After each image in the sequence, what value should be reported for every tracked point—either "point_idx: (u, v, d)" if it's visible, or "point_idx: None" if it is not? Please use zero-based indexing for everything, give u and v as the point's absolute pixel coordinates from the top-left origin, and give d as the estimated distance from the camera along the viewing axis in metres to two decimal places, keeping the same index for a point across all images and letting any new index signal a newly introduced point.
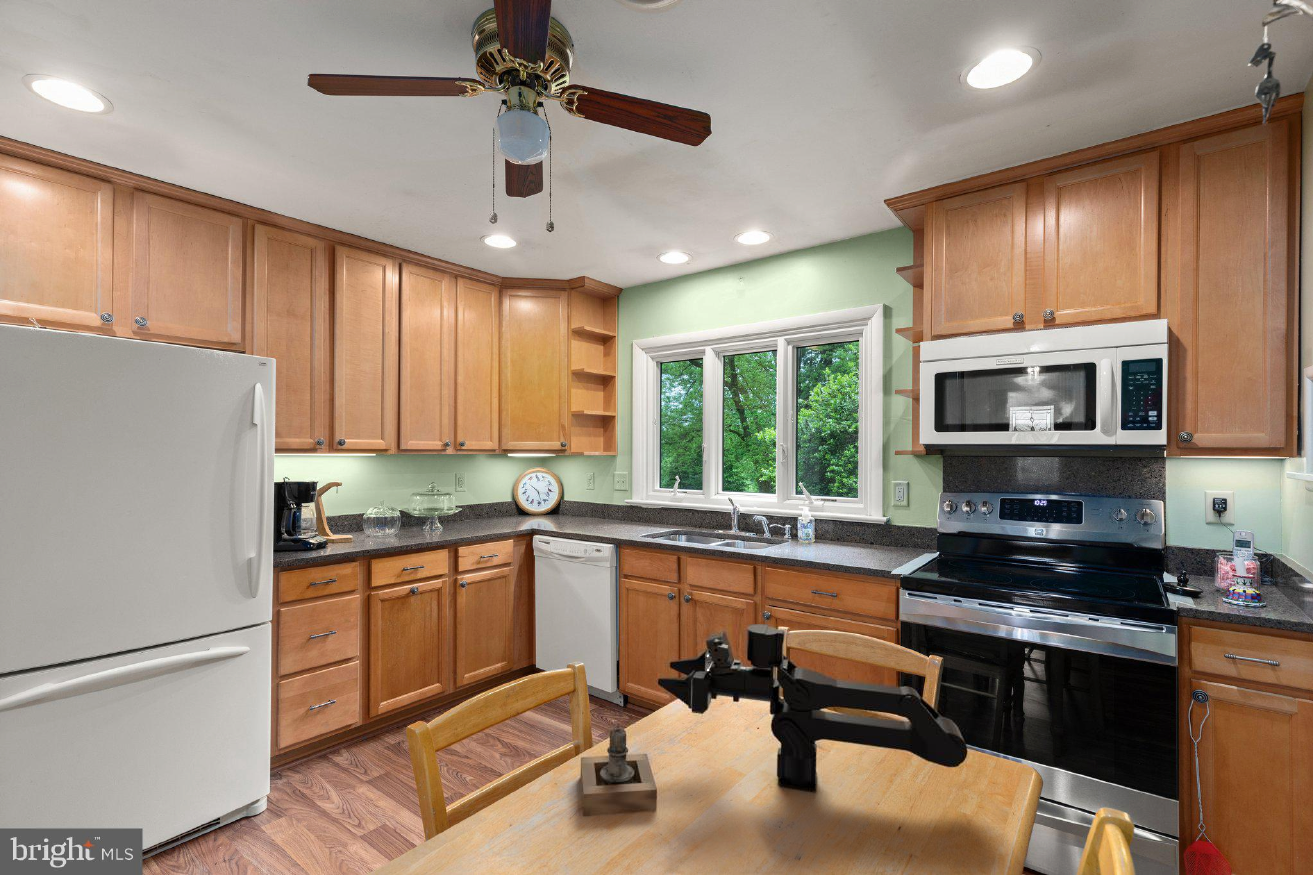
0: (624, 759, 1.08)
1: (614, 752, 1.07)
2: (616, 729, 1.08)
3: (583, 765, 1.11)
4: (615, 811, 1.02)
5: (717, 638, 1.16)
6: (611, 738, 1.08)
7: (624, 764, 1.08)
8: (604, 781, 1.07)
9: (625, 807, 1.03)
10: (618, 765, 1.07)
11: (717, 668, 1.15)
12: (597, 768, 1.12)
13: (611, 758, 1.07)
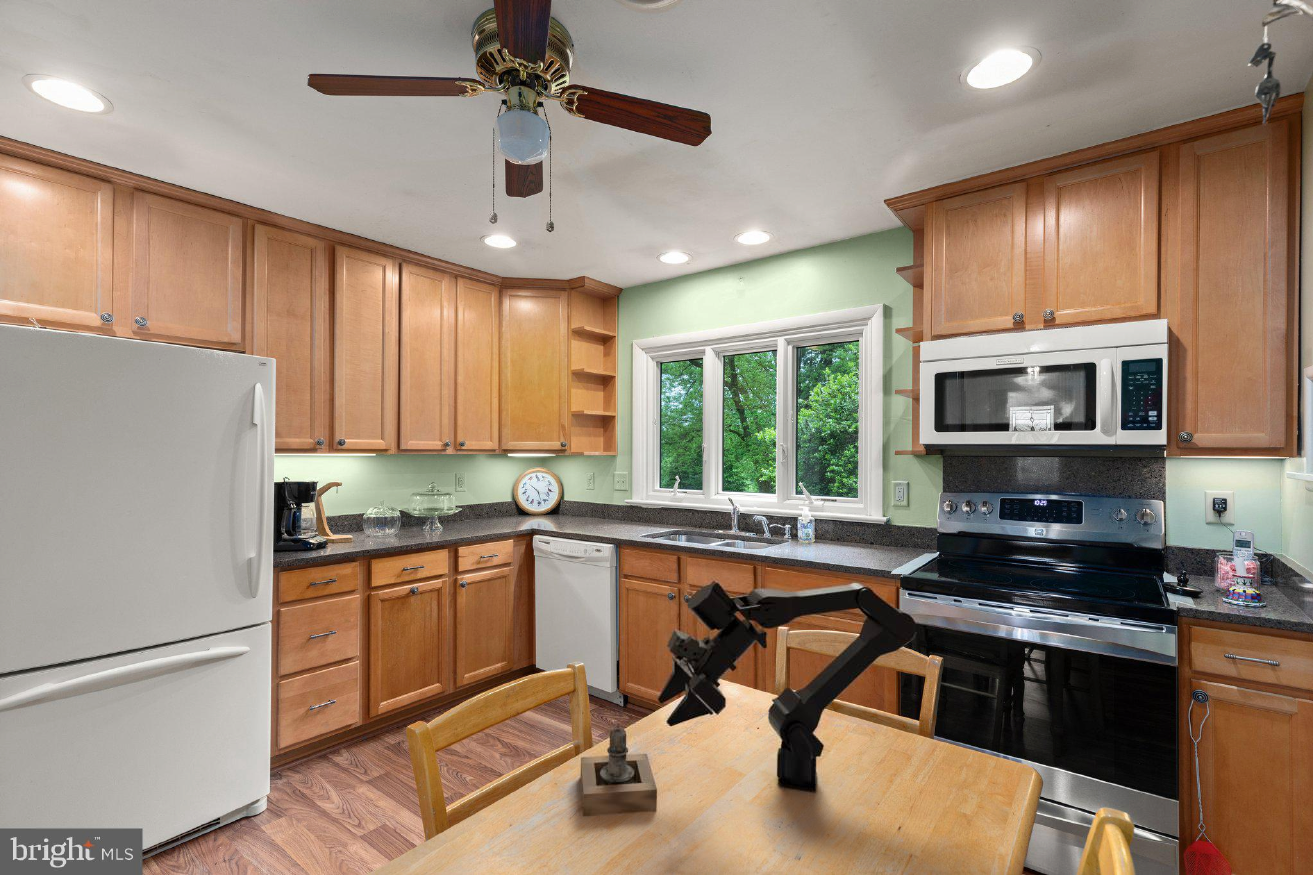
0: (624, 759, 1.08)
1: (614, 752, 1.07)
2: (616, 729, 1.08)
3: (583, 765, 1.11)
4: (615, 811, 1.02)
5: (676, 640, 1.08)
6: (611, 738, 1.08)
7: (624, 764, 1.08)
8: (604, 781, 1.07)
9: (625, 807, 1.03)
10: (618, 765, 1.07)
11: (699, 661, 1.08)
12: (597, 768, 1.12)
13: (611, 758, 1.07)
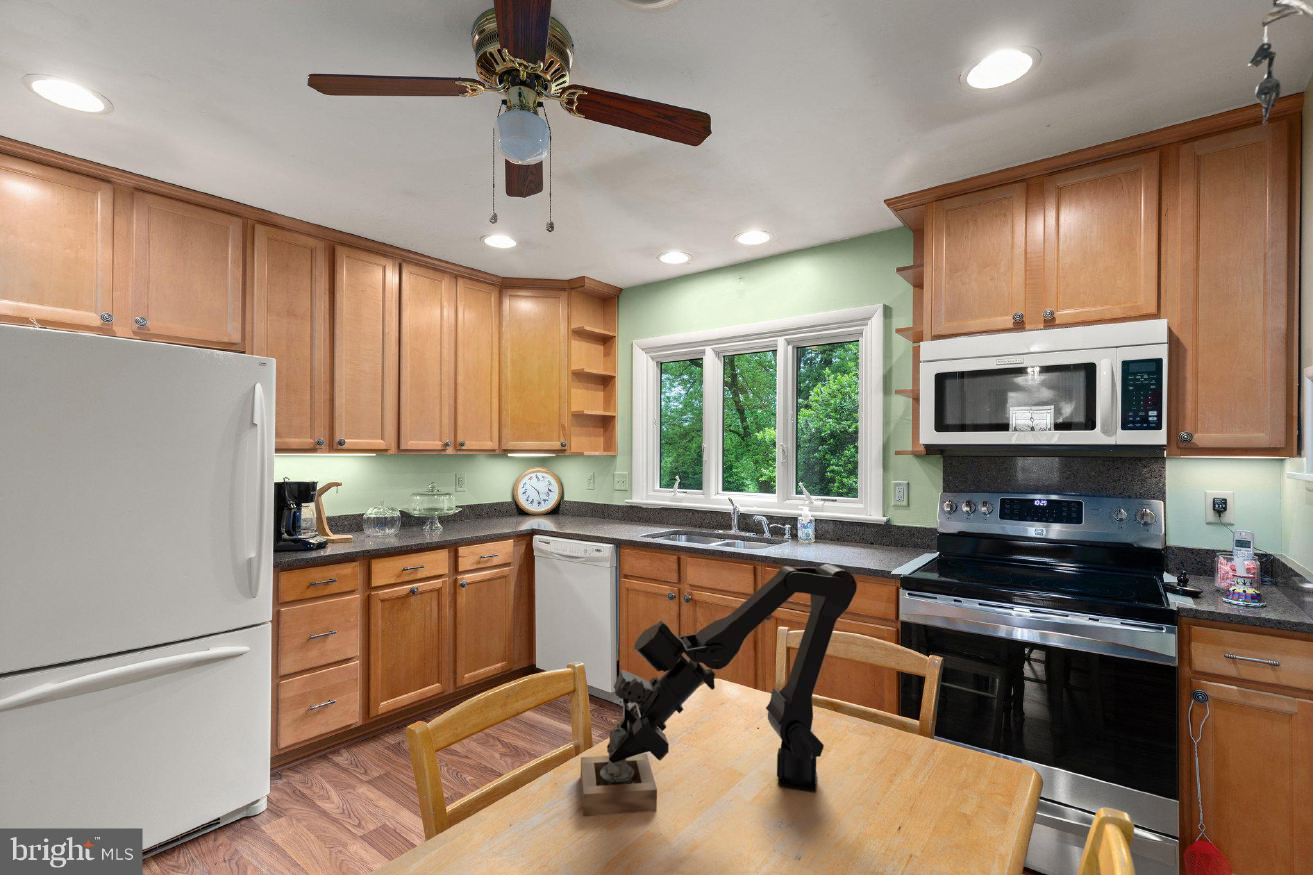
0: (624, 759, 1.08)
1: None
2: (616, 729, 1.08)
3: (583, 765, 1.11)
4: (615, 811, 1.02)
5: (621, 682, 1.07)
6: (611, 738, 1.08)
7: (624, 764, 1.08)
8: (604, 781, 1.07)
9: (625, 807, 1.03)
10: (618, 765, 1.07)
11: (644, 704, 1.06)
12: (597, 768, 1.12)
13: None
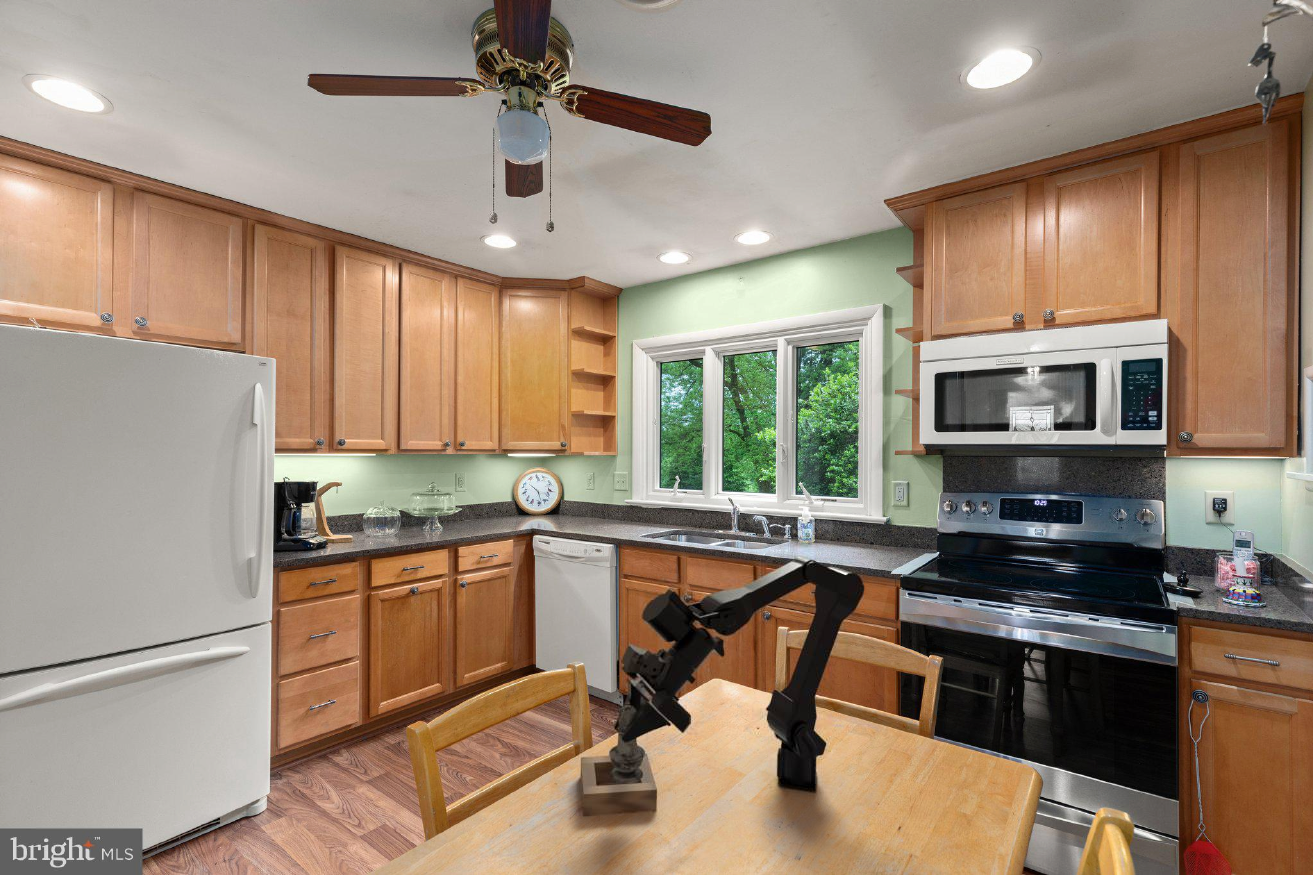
0: (635, 738, 1.01)
1: None
2: (626, 707, 1.02)
3: (583, 765, 1.11)
4: (615, 811, 1.02)
5: (633, 656, 1.00)
6: (622, 717, 1.01)
7: (635, 743, 1.01)
8: (615, 763, 1.00)
9: (625, 807, 1.03)
10: (630, 744, 1.01)
11: (658, 677, 1.01)
12: (597, 768, 1.12)
13: None
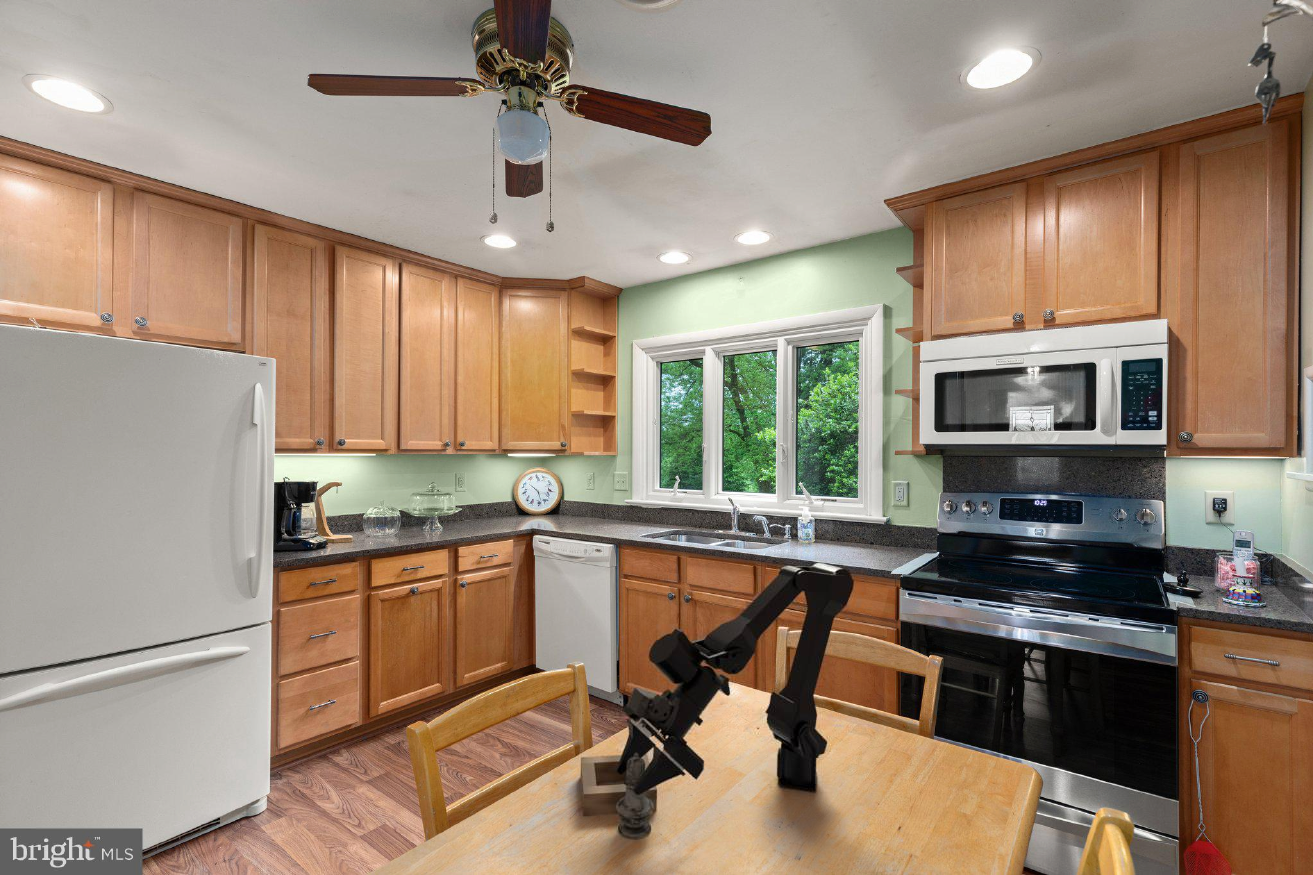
0: None
1: (635, 785, 0.97)
2: (634, 759, 0.98)
3: (583, 765, 1.11)
4: (615, 811, 1.02)
5: (642, 700, 0.97)
6: (631, 770, 0.97)
7: (644, 796, 0.98)
8: (625, 819, 0.96)
9: None
10: (640, 797, 0.97)
11: (667, 721, 0.98)
12: (597, 768, 1.12)
13: (631, 791, 0.97)
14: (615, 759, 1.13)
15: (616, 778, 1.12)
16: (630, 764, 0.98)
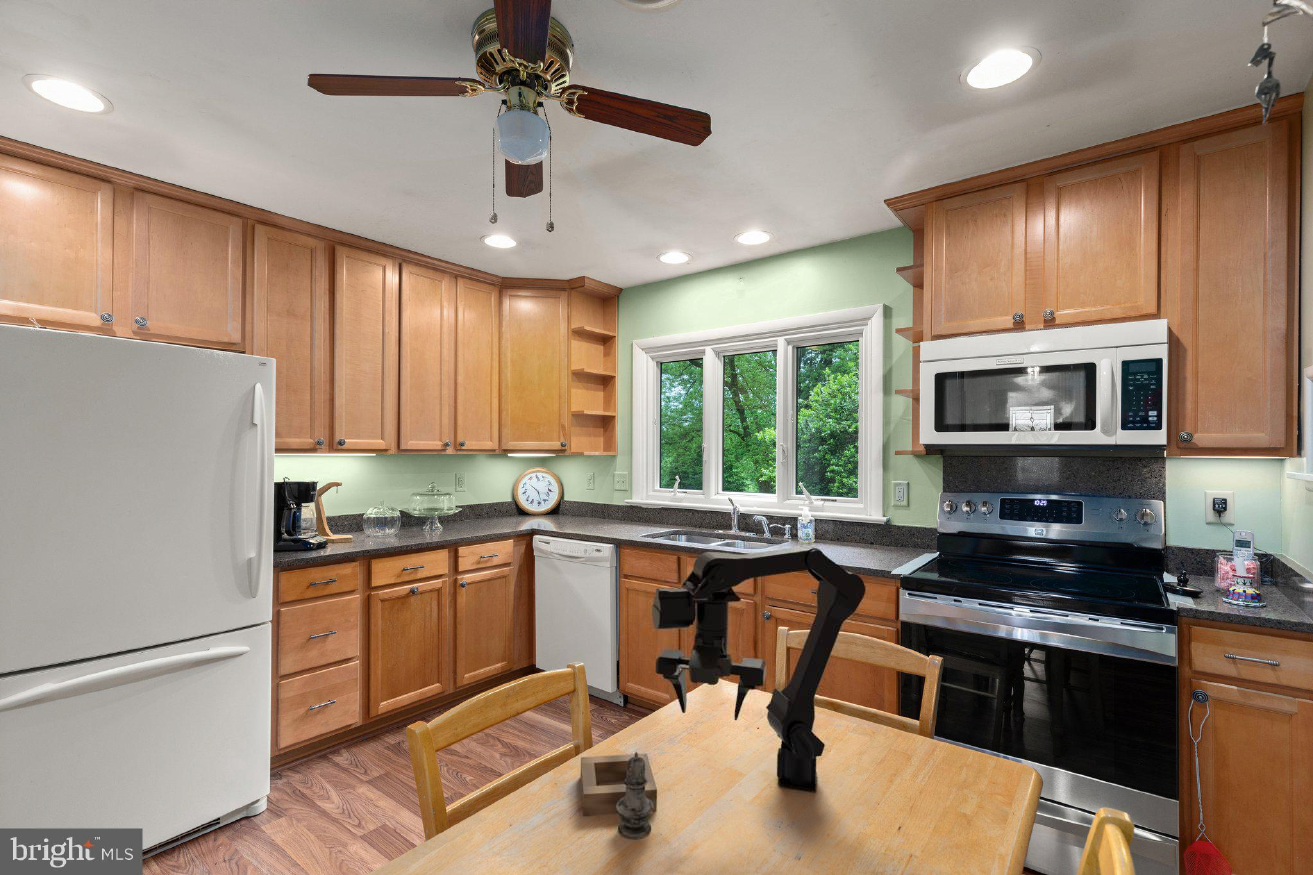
0: (644, 790, 0.98)
1: (635, 784, 0.97)
2: (634, 759, 0.98)
3: (583, 765, 1.11)
4: (615, 811, 1.02)
5: (713, 673, 1.02)
6: (631, 769, 0.97)
7: (644, 796, 0.98)
8: (625, 818, 0.96)
9: None
10: (640, 797, 0.97)
11: None
12: (597, 768, 1.12)
13: (631, 791, 0.97)
14: (615, 759, 1.13)
15: (616, 778, 1.12)
16: (630, 764, 0.98)
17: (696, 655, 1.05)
